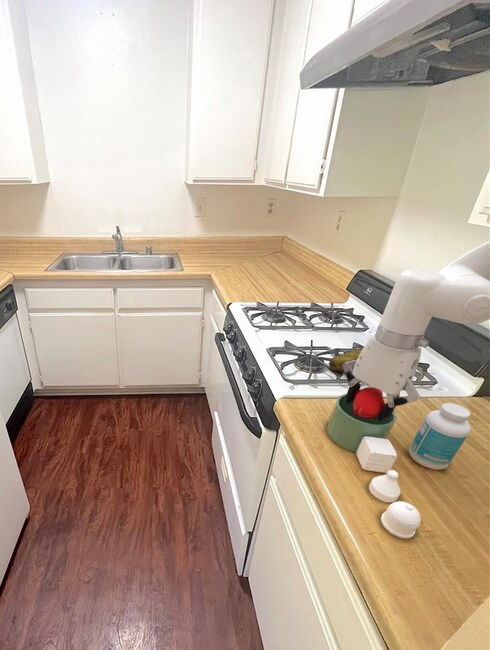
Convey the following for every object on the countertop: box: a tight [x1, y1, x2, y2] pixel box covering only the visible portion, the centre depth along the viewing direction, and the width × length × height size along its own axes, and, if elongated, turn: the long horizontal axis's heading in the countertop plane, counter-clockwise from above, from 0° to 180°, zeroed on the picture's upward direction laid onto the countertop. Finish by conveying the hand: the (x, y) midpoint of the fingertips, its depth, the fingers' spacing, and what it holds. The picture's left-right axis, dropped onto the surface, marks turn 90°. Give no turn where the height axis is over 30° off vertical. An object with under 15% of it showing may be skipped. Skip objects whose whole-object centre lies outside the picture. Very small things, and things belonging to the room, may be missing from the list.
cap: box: [353, 386, 386, 419], centre depth 76 cm, size 8×6×6 cm
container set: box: [356, 436, 422, 539], centre depth 66 cm, size 20×5×6 cm, turn 170°
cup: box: [326, 393, 397, 453], centre depth 79 cm, size 12×12×8 cm
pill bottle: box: [408, 402, 472, 471], centre depth 72 cm, size 8×7×14 cm
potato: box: [328, 347, 364, 372], centre depth 104 cm, size 8×13×8 cm, turn 65°
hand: (366, 408), depth 77 cm, fingers closed on cap, 6 cm apart
